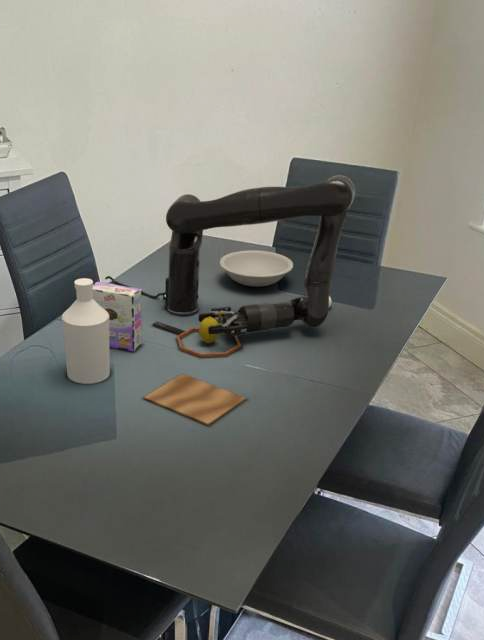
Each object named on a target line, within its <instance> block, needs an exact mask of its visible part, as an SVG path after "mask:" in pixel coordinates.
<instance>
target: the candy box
mask: <svg viewBox="0 0 484 640" xmlns="http://www.w3.org/2000/svg"><path fill="white" fill-rule="evenodd" d="M132 287H133V286H130V287H126V286H120V285H118V284H115V283H108V282H101V281H96V282H95V283H93V288H92V299H93V300H94V301H95V302H96V303H98V304H99V305H100V306H101V307H102V308H103V309H104V310H105V311H107V312H108V314H109V348H111V349H112V348H113V349H118V350H124V351H128V352H135V351H136V350H137V349H138V348H140V346H142V345H143V340H142V339H143V337H142V335H143V334H142V333H143V330H142V325H143V324H142V321H143V319H142V314H143V313H142V294H141V291H142V288H136V287H133V288H132Z"/></svg>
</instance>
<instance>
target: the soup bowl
mask: <svg viewBox="0 0 484 640" xmlns="http://www.w3.org/2000/svg"><path fill="white" fill-rule="evenodd" d="M219 266H220V267H221V268H222V269H223V270H224V271H225V273H226V274H227V275H228V276H229V278H230V279H232V280H233V281H234V282H235V283H238V284H240V285H242V286H248V287H253V288H254V287H255V288H259V287H266V286H270V285H274V284H275V283H277V282H279V281H280V280H282V279H283V278H284V276H285V275H286V274H288V273H290V272H291V271H292V270H293V268H294V263H293V261H292V260H291V259H290V258H288V257H287V256H285V255H283V254H279V253H278V252H277V253H276V252H273V251H266V250H253V249H252V250H240V251H239V250H238V251H234V252H230V253H227V254H226V255H224V256H222V257H221V258H220V260H219Z"/></svg>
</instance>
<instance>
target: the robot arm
mask: <svg viewBox="0 0 484 640" xmlns="http://www.w3.org/2000/svg"><path fill="white" fill-rule="evenodd" d="M352 181H353V180H351V179H350V178H349V177H348V176H346V175H342V174H338V175H333V176H332V177H330V178H328V179H327V180H326V181H322V182H318V183H315V184H310V185H305V186H297V187H295V186H294V187H291V186H260V187H254V188H253V187H252V188H247V189H242V190H239V191H236V192H233V193H230V194H227V195H225V196H222V197H219V198H216V199H212V200H204V201H203V200H202V201H201V200H200V198H198V197H197V196H196V195H194V194H189V193H187V194H182V195H180V196H179V197H178V198H177V199H175V201H173V202H172V204H171V205H170V206H169V207H168V209H167V212H166V214H165V222H166V226H167V227H168V229H169V230H171V237H170V241H169V244H168V273H167V274H168V276H167V277H166V278H165V286H164V287H165V288H164V289H165V290H164V292H159V293H157V294H156V295H151V294H148V293H146V292H145V291H142V290H141V295H143V296H145V297H148V298H151V299H158V298H159V297H160V296H162V301H164V309H166V310H167V311H168V313H170V314H173V315H177V316H190V315H193V314H195V313H197V312H198V311H199V307H198V304H199V283H200V259H201V256H200V255H201V247H202V243H203V235H204V231H205V230H210V229H215V228H229V227H240V226H241V227H242V226H252V225H262V224H268V223H274V222H279V221H285V220H289V219H295V218H299V217H319V224H318V229H317V232H316V237H315V240H314V243H313V246H312V249H311V253H310V257H309V259H308V264H307V268H306V273H305V279H304V288H305V290H306V293H307V295H303V296H298V297H294V298H292V299H289V300H286V301H282V302H281V301H280V302H273V303H269V302H268V303H267V302H266V303H255V304H247V305H241V306H240V307H239V309H238V310H237V311H232V307H231V306H223V307H211V308H210V312H204V313H202V312H201V313H198V319H197V320H198V322H199V323H201V322H202V321H203V320H204V319H205V318H208V317H211V318H214V319H215V320H216V321H217V322H218V325H215V326H209V327H208V333H209V334H210V335H211V334H218V335H219V334H221V335H225V336H226V338H232V336H237V337H238V336H243V335H247V334H249V333H256V332H263V331H269V330H272V329H273V330H274V329H281V328H287V327H290V326H292V325H293V324H294V322H295V321H301V322H303V324H305V325H307V326H308V327H310V328H319V327H320V326H322V325H323V324H324V322H325V321H326V319H327V317H328V314H329V309H330V307H329V296H330V285H331V281H332V276H333V272H334V269H335V268H334V267H335V262H336V258H337V251H338V246H339V243H340V242H339V241H340V238H341V235H342V231H343V230H342V229H343V226H344V223H345V220H346V218H347V215H348V212H349V210H350V208H351V206H352V204H353V203H354V201H355V198H356V188H355V185H354V183H353V182H352ZM108 279H109V280H111V281H112V283H113V284H115V285H120V286H126V287H132V288H134V287H133V286H130V285H126V284H125V283H121V282H118V281H117V280H115V279H114V278H113V277H112V276H109V275H107V276H105V278H104V280H108ZM114 280H115V281H114ZM231 332H233V333H231Z"/></svg>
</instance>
